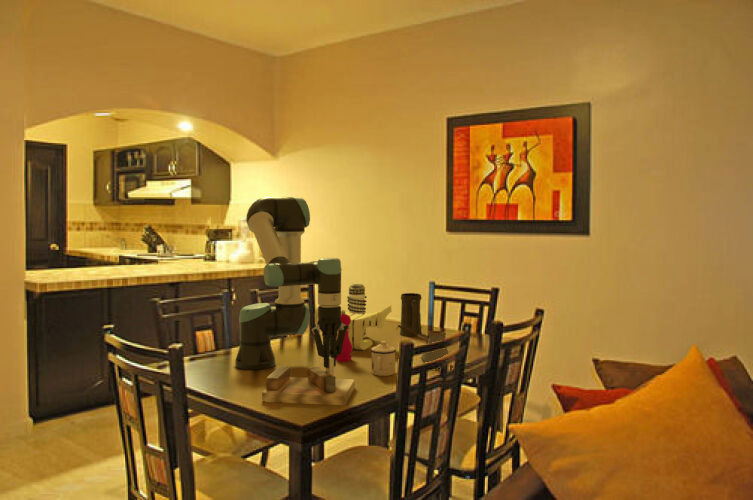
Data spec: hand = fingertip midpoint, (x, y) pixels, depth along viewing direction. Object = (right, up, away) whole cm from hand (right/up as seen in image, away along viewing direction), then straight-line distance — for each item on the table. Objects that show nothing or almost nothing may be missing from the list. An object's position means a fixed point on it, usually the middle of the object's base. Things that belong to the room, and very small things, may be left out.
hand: (329, 376), depth 194 cm
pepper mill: (+2, -3, +43) cm, 43 cm away
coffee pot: (+33, -3, +36) cm, 49 cm away
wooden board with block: (-6, -5, -3) cm, 9 cm away
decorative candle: (+6, 0, +88) cm, 88 cm away
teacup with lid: (+17, -4, +22) cm, 28 cm away
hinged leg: (-2, -2, -4) cm, 5 cm away
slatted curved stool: (+5, -1, +67) cm, 67 cm away
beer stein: (+33, 0, +91) cm, 97 cm away
